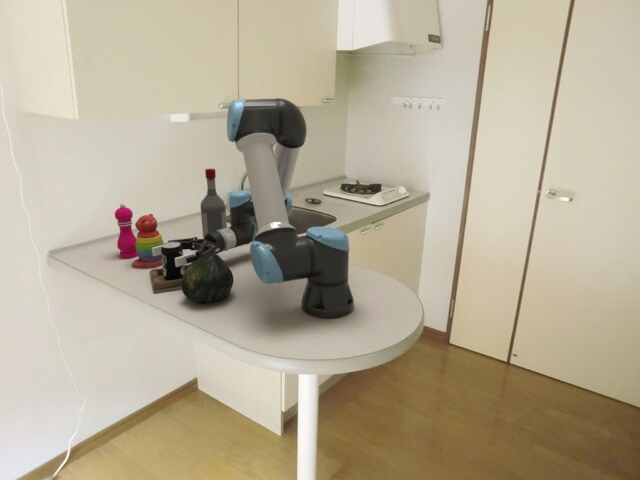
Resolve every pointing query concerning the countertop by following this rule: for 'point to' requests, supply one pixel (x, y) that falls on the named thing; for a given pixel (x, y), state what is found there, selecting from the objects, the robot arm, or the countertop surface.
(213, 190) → the liquor
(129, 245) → the pepper mill
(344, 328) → the countertop surface
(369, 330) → the countertop surface
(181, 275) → the beverage can
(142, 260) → the stacking bear
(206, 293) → the squash
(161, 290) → the brown wooden flat tray
